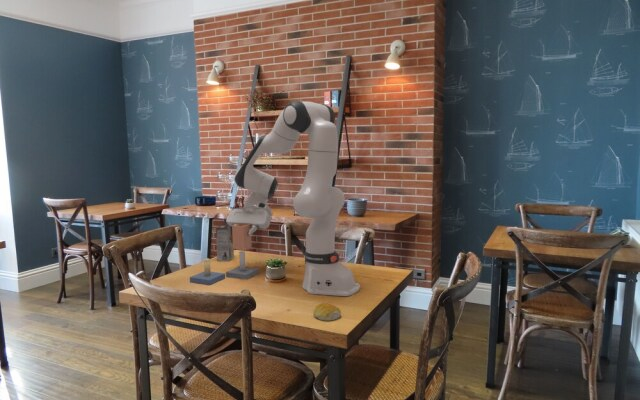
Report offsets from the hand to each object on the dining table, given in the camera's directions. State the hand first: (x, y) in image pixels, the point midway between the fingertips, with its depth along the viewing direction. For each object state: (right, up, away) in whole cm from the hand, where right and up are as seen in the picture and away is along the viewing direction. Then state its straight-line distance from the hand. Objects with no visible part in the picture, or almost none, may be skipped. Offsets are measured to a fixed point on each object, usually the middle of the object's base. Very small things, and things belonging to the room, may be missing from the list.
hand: (241, 234), depth 188 cm
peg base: (-13, -18, -5) cm, 23 cm away
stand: (0, -17, +2) cm, 18 cm away
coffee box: (-13, -14, +29) cm, 35 cm away
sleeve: (0, -6, +1) cm, 6 cm away
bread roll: (+35, -23, -43) cm, 61 cm away
